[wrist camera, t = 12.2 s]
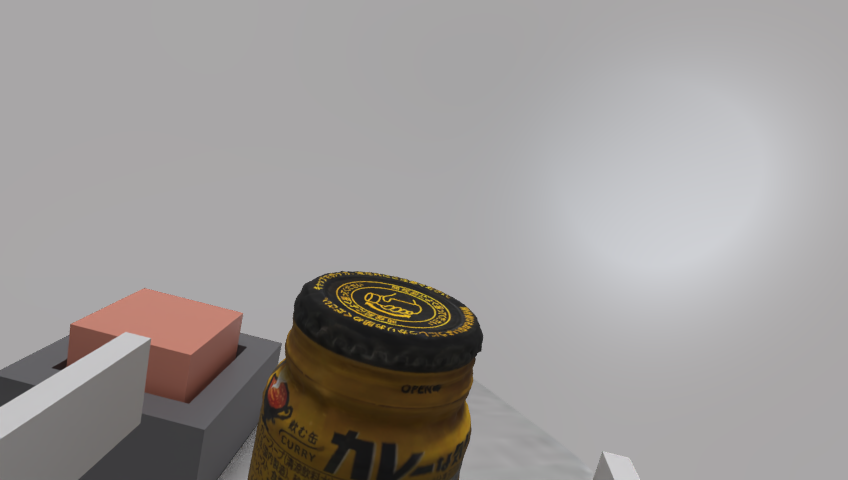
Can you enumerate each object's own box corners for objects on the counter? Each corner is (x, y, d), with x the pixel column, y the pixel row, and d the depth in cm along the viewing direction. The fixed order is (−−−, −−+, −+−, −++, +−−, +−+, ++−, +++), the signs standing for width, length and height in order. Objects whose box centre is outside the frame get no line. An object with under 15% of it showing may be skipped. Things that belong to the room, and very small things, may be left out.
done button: (64, 386, 24) (70, 324, 23) (138, 340, 29) (144, 288, 29) (181, 417, 24) (191, 355, 23) (234, 365, 29) (243, 313, 29)
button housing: (-13, 459, 23) (-8, 374, 22) (121, 368, 32) (128, 304, 31) (191, 514, 23) (204, 429, 22) (270, 406, 32) (281, 343, 31)
